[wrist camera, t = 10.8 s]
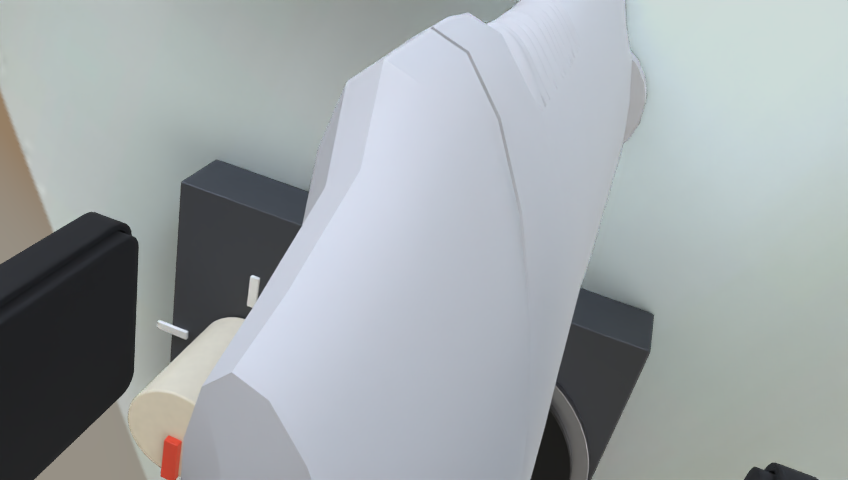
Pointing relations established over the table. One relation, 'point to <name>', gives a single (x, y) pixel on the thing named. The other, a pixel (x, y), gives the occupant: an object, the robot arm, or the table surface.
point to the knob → (177, 397)
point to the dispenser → (432, 259)
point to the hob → (275, 231)
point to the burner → (562, 442)
